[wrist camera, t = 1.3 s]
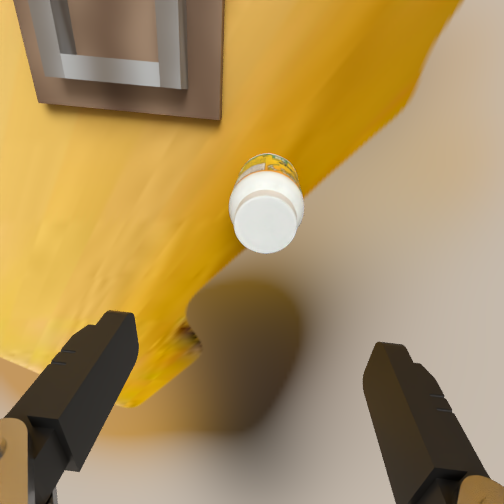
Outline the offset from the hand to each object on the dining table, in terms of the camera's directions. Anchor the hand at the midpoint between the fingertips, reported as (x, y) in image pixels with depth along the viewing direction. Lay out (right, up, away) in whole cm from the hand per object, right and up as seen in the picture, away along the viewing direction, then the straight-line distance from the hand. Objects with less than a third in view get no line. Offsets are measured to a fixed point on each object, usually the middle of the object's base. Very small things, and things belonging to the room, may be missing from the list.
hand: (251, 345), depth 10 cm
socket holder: (-9, +21, +12) cm, 26 cm away
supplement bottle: (+2, +10, +17) cm, 20 cm away
